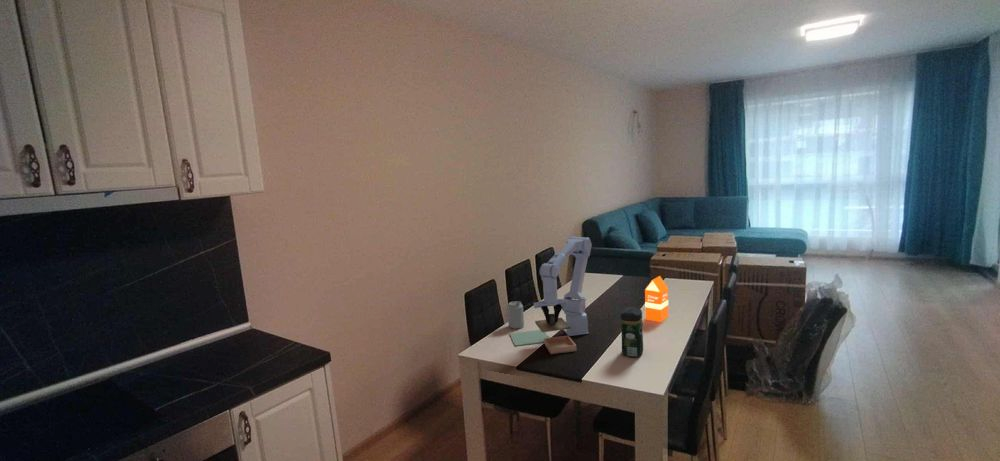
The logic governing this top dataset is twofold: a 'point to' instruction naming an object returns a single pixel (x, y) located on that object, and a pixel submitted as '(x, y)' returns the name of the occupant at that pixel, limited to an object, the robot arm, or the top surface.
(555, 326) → the cover
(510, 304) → the can
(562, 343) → the pink square tray
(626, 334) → the coffee jar
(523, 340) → the mat
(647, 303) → the orange juice
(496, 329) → the top surface
